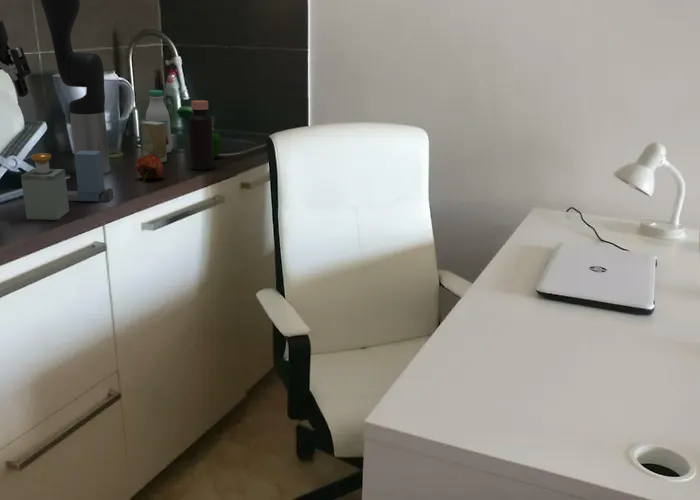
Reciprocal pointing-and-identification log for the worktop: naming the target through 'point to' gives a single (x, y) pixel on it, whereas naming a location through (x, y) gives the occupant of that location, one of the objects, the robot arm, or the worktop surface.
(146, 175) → the red round fruit
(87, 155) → the upright slate-blue block
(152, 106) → the milk bottle
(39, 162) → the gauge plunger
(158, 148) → the skincare box
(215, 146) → the bell pepper
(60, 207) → the grey upright block
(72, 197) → the rail
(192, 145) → the vinegar
